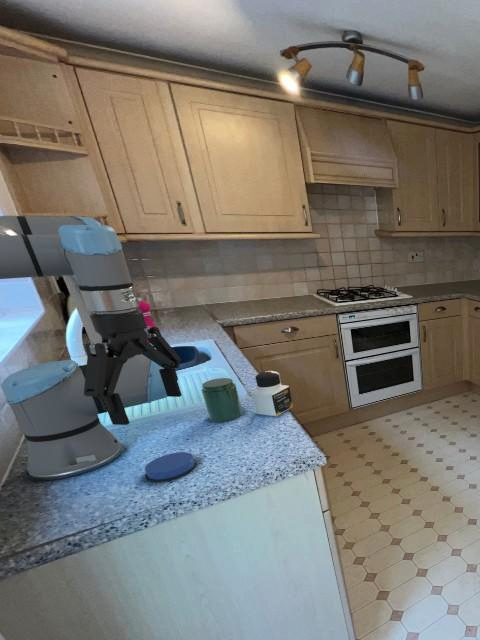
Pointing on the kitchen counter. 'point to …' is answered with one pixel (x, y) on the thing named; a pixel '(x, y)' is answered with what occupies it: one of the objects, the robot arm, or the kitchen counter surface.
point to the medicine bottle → (271, 395)
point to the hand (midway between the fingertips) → (150, 409)
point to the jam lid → (169, 465)
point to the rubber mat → (169, 478)
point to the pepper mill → (146, 313)
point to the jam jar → (221, 399)
